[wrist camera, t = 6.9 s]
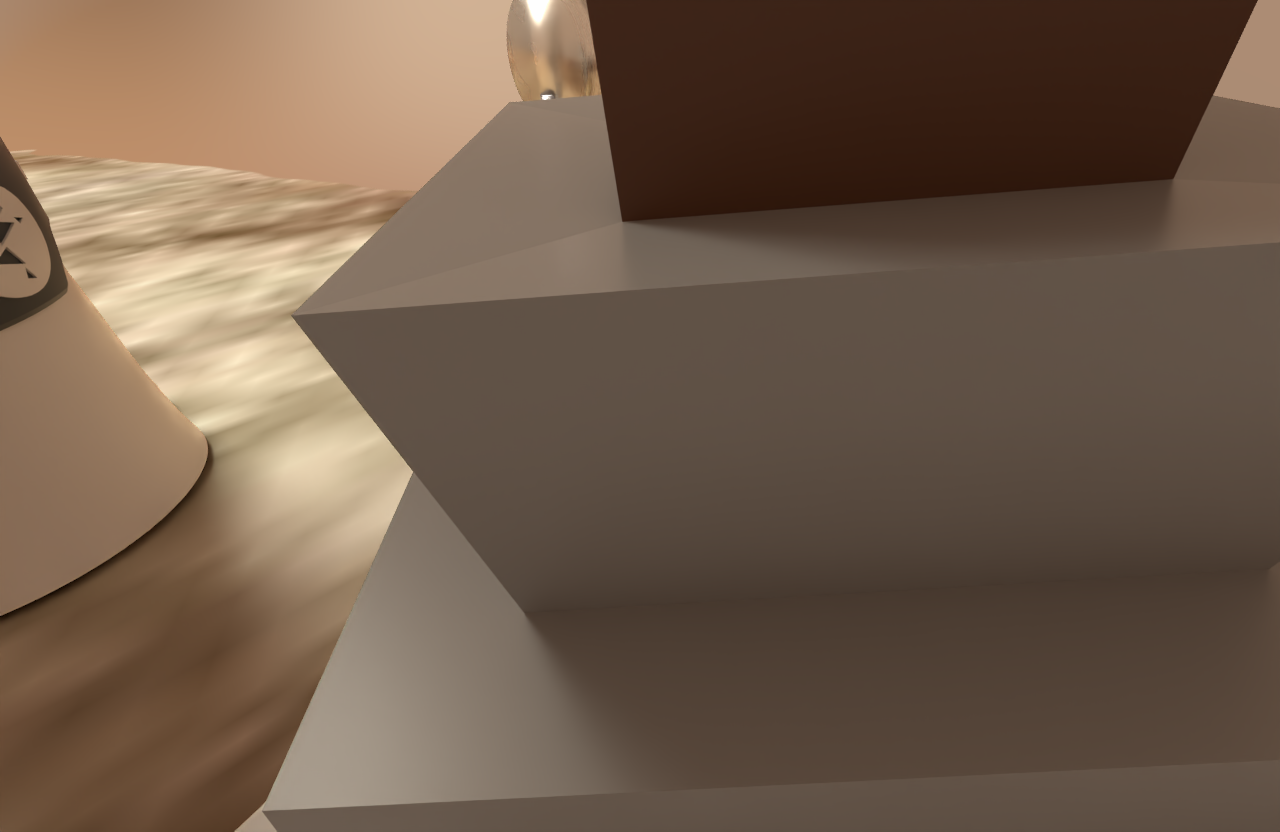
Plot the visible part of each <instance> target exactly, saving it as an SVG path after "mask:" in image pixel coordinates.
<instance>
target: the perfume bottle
mask: <svg viewBox="0 0 1280 832" xmlns="http://www.w3.org/2000/svg"><path fill="white" fill-rule="evenodd" d="M1257 1H1258V0H586V2H587V8H588V14H589V21H590V27H591V33H592V39H593V45H594V51H595V57H596V64H597V70H598V76H599V82H600V88H601V94H602V95H593V96H581V97H569V98H557V99H545V100H534V101H522V102H510V103H508V104H507V105H506V106H505V107H504V108H503V109H502V110H501V111H500V112H499V113H498V114H497V115H496V116H495V117H494V118H493V119H492V120H491V121H490V122H489V123H488V124H487V125H486V126H485V127H484V128H483V129H482V130H481V131H480V132H479V133H478V134H477V135H476V136H475V137H474V138H473V139H472V140H470V141H469V143H467V145H465V146H464V147H463V148H462V149H461V150H460V151H459V152H458V153H457V154H456V155H455V156H454V157H453V158H452V159H451V160H450V161H449V162H448V163H447V164H446V165H445V166H444V167H443V168H442V169H441V170H440V171H439V172H438V173H437V174H436V175H435V176H434V177H433V178H431V179H430V181H428V182H427V183H426V184H425V185H424V186H423V187H422V188H421V189H420V190H419V191H418V192H417V193H416V194H415V195H414V196H413V197H412V198H411V199H410V200H409V201H408V202H407V203H406V204H405V205H404V206H403V207H402V208H401V209H400V210H399V211H398V212H397V213H396V214H395V215H394V216H393V217H392V218H390V219H389V220H388V221H387V222H386V223H385V224H384V225H383V226H382V227H381V228H380V229H379V230H378V231H377V232H376V233H375V234H374V235H373V236H372V237H371V238H370V239H369V240H368V241H367V242H366V243H365V244H364V245H363V246H362V247H361V248H360V249H359V250H358V251H357V252H356V253H355V254H354V255H353V256H352V257H350V258H349V259H348V260H347V261H346V262H345V263H344V264H343V265H342V266H341V267H340V268H339V269H338V270H337V271H336V272H335V273H334V274H333V275H332V276H331V277H330V278H329V279H328V280H327V281H326V282H325V283H324V284H323V285H322V286H321V287H320V288H319V289H318V290H317V291H316V292H315V293H314V294H313V295H312V296H311V297H309V298H308V299H307V300H306V301H305V302H304V303H303V304H302V305H301V306H300V307H299V308H298V309H297V310H296V311H295V312H294V313H293V314H292V315H291V316H292V317H293V318H294V320H295V321H296V322H297V324H298V325H299V326H300V327H301V329H302V330H303V331H304V332H305V334H306V335H307V336H308V338H309V339H310V340H311V341H312V343H313V344H314V345H315V347H316V348H317V349H318V350H319V352H320V353H321V354H322V355H323V357H324V358H325V359H326V361H327V362H328V363H329V364H330V366H331V367H332V368H333V370H334V371H335V372H336V373H337V375H338V376H339V377H340V378H341V380H342V381H343V382H344V384H345V385H346V386H347V387H348V389H349V390H350V391H351V393H352V394H353V395H354V396H355V398H356V399H357V400H358V401H359V403H360V404H361V405H362V407H363V408H364V409H365V410H366V412H367V413H368V414H369V416H370V417H371V418H372V419H373V421H374V422H375V423H376V424H377V426H378V427H379V428H380V430H381V431H382V432H383V433H384V435H385V436H386V437H387V438H388V440H389V441H390V442H391V444H392V445H393V446H394V447H395V449H396V450H397V451H398V453H399V454H400V455H401V456H402V458H403V459H404V460H405V461H406V463H407V464H408V465H409V467H410V468H411V469H412V470H413V474H412V476H411V478H410V480H409V483H408V485H407V487H406V489H405V492H404V494H403V496H402V498H401V500H400V503H399V505H398V507H397V509H396V512H395V514H394V516H393V518H392V521H391V523H390V525H389V527H388V530H387V532H386V534H385V536H384V539H383V541H382V543H381V545H380V547H379V550H378V552H377V554H376V556H375V559H374V561H373V563H372V565H371V568H370V570H369V572H368V574H367V577H366V579H365V581H364V583H363V586H362V588H361V590H360V592H359V594H358V597H357V599H356V601H355V603H354V606H353V608H352V610H351V612H350V615H349V617H348V619H347V621H346V624H345V626H344V628H343V630H342V633H341V635H340V637H339V639H338V641H337V644H336V646H335V648H334V650H333V653H332V655H331V657H330V659H329V662H328V664H327V666H326V668H325V671H324V673H323V675H322V677H321V679H320V682H319V684H318V686H317V688H316V691H315V693H314V695H313V697H312V700H311V702H310V704H309V706H308V709H307V711H306V713H305V715H304V718H303V720H302V722H301V724H300V726H299V729H298V731H297V733H296V735H295V738H294V740H293V742H292V744H291V747H290V749H289V751H288V753H287V756H286V758H285V760H284V762H283V765H282V767H281V769H280V771H279V773H278V776H277V778H276V780H275V782H274V785H273V787H272V789H271V791H270V794H269V796H268V798H267V800H266V803H265V805H264V807H263V809H262V812H263V813H264V815H265V816H266V817H267V819H268V820H269V821H270V823H271V824H272V825H273V827H274V828H275V829H276V831H277V832H1280V108H1275V107H1270V106H1264V105H1259V104H1254V103H1249V102H1244V101H1238V100H1233V99H1227V98H1223V97H1218V96H1213V94H1214V92H1215V90H1216V88H1217V86H1218V83H1219V81H1220V79H1221V77H1222V75H1223V73H1224V70H1225V69H1226V66H1227V64H1228V62H1229V60H1230V58H1231V56H1232V54H1233V52H1234V49H1235V47H1236V45H1237V43H1238V41H1239V39H1240V37H1241V34H1242V32H1243V30H1244V28H1245V26H1246V24H1247V22H1248V20H1249V18H1250V15H1251V13H1252V11H1253V9H1254V7H1255V5H1256V3H1257Z"/></svg>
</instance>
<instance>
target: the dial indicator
mask: <svg viewBox="0 0 1280 832" xmlns="http://www.w3.org/2000/svg"><path fill="white" fill-rule="evenodd" d="M507 50H508V58H509V63H510V68H511V72H512V75H513V79H514V82H515V84H516V87H517V90H518V92H519V94H520V96H521V98H522V100H523V101H534V100H545V99H557V98H569V97H581V96H593V95H602V94H601V88H600V82H599V76H598V70H597V64H596V57H595V51H594V45H593V39H592V33H591V27H590V21H589V14H588V8H587V2H586V0H513V1H512V4H511V7H510V11H509V15H508V21H507Z"/></svg>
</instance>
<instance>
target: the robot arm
mask: <svg viewBox="0 0 1280 832" xmlns="http://www.w3.org/2000/svg"><path fill="white" fill-rule="evenodd" d="M26 179H27V177H26V175H25V174H24V172H23V170H22V169H21V167H20V165H19V163H18V162H17V161H15V160H14V159H13V157H12V155H11V154H10V152H9V151H8V149H7V147H6V146H5V144H4V142H3V141H2V139H1V137H0V616H1V615H4V614H6V613H8V612H10V611H13V610H15V609H17V608H19V607H22V606H24V605H26V604H28V603H30V602H32V601H34V600H37V599H39V598H41V597H43V596H45V595H47V594H49V593H51V592H52V591H54V590H56V589H58V588H60V587H62V586H64V585H66V584H68V583H69V582H71V581H73V580H75V579H77V578H79V577H80V576H82V575H84V574H85V573H87V572H89V571H90V570H92V569H94V568H95V567H97V566H99V565H100V564H102V563H103V562H105V561H107V560H108V559H110V558H111V557H113V556H114V555H116V554H117V553H119V552H120V551H122V550H123V549H125V548H126V547H127V546H129V545H130V544H132V543H133V542H134V541H136V540H137V539H138V538H140V537H141V536H142V535H144V534H145V533H146V532H147V531H149V530H150V529H151V528H152V527H153V526H155V525H156V524H157V523H158V522H159V521H161V520H162V519H163V518H164V517H165V516H166V515H167V514H168V513H169V512H170V511H171V510H172V509H173V508H174V507H175V506H176V505H177V504H178V503H179V502H180V501H181V500H182V499H183V498H184V497H185V495H186V494H187V493H188V492H189V490H190V489H191V488H192V487H193V485H194V484H195V482H196V481H197V479H198V478H199V476H200V474H201V472H202V470H203V468H204V466H205V463H206V460H207V455H208V445H207V441H206V438H205V436H204V434H203V433H202V432H201V431H200V430H199V429H198V428H197V427H196V426H195V425H194V424H193V423H192V422H191V421H190V420H189V419H187V418H186V417H185V416H184V415H183V414H182V413H181V412H180V411H179V410H178V409H177V408H176V407H175V406H174V405H173V403H172V402H171V401H170V400H169V399H168V398H167V397H166V396H165V395H164V394H163V393H162V391H161V390H160V389H159V388H158V386H157V385H156V384H155V383H154V382H153V381H152V380H151V379H150V378H149V376H148V375H147V374H146V373H145V372H144V370H143V369H142V368H141V367H140V365H139V364H138V363H137V361H136V360H135V359H134V358H133V356H132V355H131V354H130V353H129V351H128V350H127V349H126V347H125V346H124V345H123V343H122V342H121V341H120V339H119V338H118V337H117V335H116V334H115V333H114V331H113V330H112V329H111V327H110V326H109V325H108V323H107V322H106V321H105V319H104V318H103V317H102V315H101V314H100V313H99V311H98V310H97V309H96V307H95V306H94V305H93V303H92V302H91V301H90V299H89V298H88V297H87V295H86V294H85V293H84V292H83V290H82V289H81V288H80V286H79V285H78V284H77V283H76V281H75V280H74V279H73V278H72V276H71V275H70V274H69V273H68V271H67V270H66V268H65V267H64V265H63V263H62V260H61V257H60V254H59V251H58V248H57V245H56V242H55V239H54V237H53V234H52V231H51V228H50V223H49V218H48V216H47V215H46V213H45V211H44V210H43V208H42V206H41V204H40V203H39V201H38V199H37V197H36V196H35V194H34V192H33V190H32V189H31V187H30V185H29V183H28V182H27V180H26ZM265 803H266V802H265ZM265 803H264V804H263V805H262V806H261V807H260V808H259V809H258V810H257V811H255V812H254V813H253V814H252V815H251V816H250V817H249V818H248V819H247V820H246V821H245V822H244V823H243V824H242V825H241V826H240V827H238V828H237V829H236V830H235V831H234V832H277V831H276V829H275V828H274V827H273V825H272V824H271V823H270V821H269V820H268V819H267V817H266V816H265V815H264V813H263V812H262V809H263V807H264V805H265Z"/></svg>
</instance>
